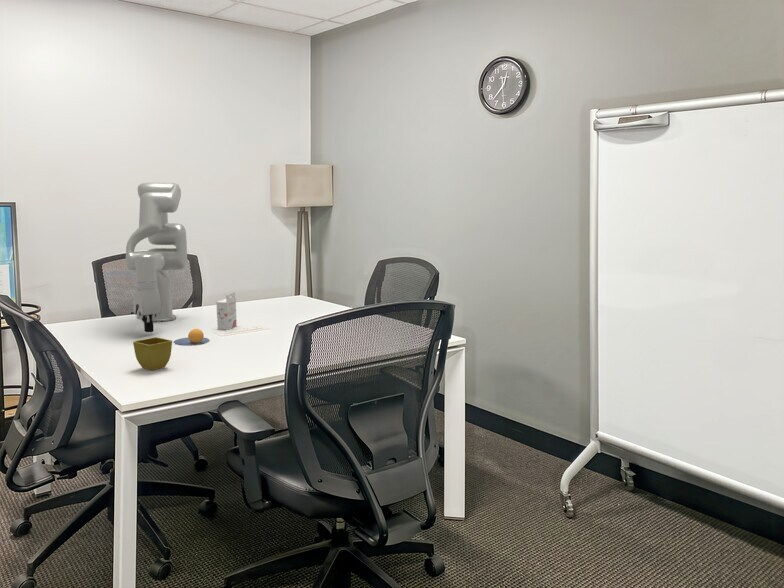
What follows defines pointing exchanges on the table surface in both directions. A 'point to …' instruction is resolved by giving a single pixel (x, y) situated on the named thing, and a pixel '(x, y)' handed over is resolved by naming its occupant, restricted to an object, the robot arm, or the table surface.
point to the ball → (196, 335)
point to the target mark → (187, 342)
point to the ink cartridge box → (226, 312)
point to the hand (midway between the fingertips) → (149, 331)
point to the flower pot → (153, 352)
